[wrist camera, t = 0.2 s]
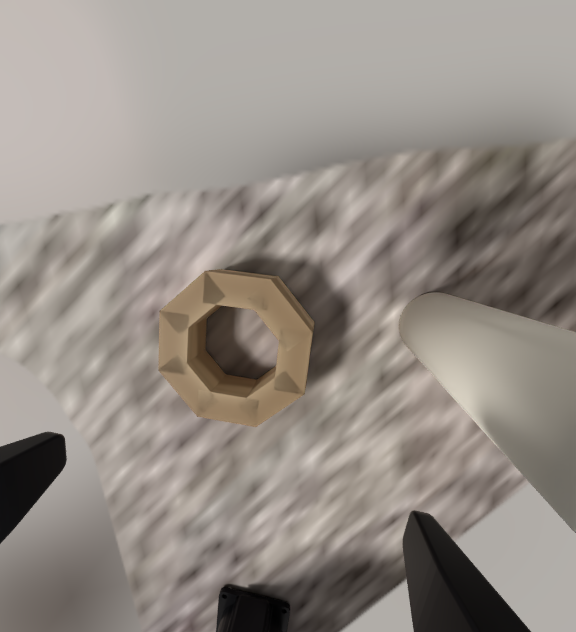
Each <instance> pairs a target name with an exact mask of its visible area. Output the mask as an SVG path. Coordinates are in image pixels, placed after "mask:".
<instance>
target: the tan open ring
mask: <svg viewBox="0 0 576 632" xmlns="http://www.w3.org/2000/svg"><path fill="white" fill-rule="evenodd" d="M221 306H230V307H237V308H244V309H252V310H255V311H256V313H257V314H258V315H259V316H260V318H261V319H262V320H263V321H264V323H265V324H266V325H267V326H268V328H269V329H270V330H271V331H272V333H273V334H274V335H275V336H276V338H277V339H278V340H279V346H278V355H277V364H276V366H275V367H274V368H272V369H271V370H270V371H268V372H267V373H265V374H264V375H263V376H261V377H260V378H259V379H257V380H256V379H250V378H244V377H238V376H232V375H226V374H225V373H224V372H223V371H222V369H221V368H220V367H219V366H218V365H217V363H216V362H215V361H214V360H213V359H212V357H211V356H210V355H209V354H208V352H207V351H206V350H205V344H206V326H207V318H208V317H209V316H210V315H212V314H213V313H214V312H215V311H216V310H218V309H219V308H220V307H221ZM314 324H315V322H314V321H313V320H312V319H311V317H310V316H309V315H308V313H307V312H306V311H305V310H304V308H303V307H302V306H301V304H300V303H299V302H298V301H297V299H296V298H295V297H294V295H293V294H292V293H291V292H290V290H289V289H288V288H287V287H286V285H285V284H284V283H283V281H282V280H281V279H280V278H279V276H272V275H263V274H255V273H247V272H239V271H231V270H223V269H219V270H209V271H205V272H204V273H202V274H201V275H200V276H199V277H198V278H197V279H196V280H194V281H193V282H192V283H191V284H190V285H189V286H188V287H186V288H185V289H184V290H183V291H182V292H181V293H180V294H178V295H177V296H176V297H175V298H174V299H173V300H172V301H171V302H169V303H168V304H167V305H166V306H165V307H164V308H163V309H161V310H160V320H159V372H160V373H161V374H162V375H163V376H164V377H165V379H166V380H167V381H168V382H169V383H170V385H171V386H172V387H173V388H174V389H175V390H176V392H177V393H178V394H179V395H180V396H181V398H182V399H183V400H184V401H185V402H186V403H187V405H188V406H189V407H190V408H191V409H192V411H193V412H194V413H195V414H196V415H197V416H198V417H203V418H209V419H214V420H220V421H225V422H231V423H236V424H242V425H247V426H253V427H257V426H258V425H260V424H261V423H263V422H264V421H266V420H267V419H268V418H270V417H271V416H273V415H274V414H276V413H277V412H279V411H280V410H282V409H283V408H285V407H286V406H288V405H289V404H291V403H292V402H294V401H295V400H297V399H298V398H300V397H301V396H303V395H304V394H305V388H306V382H307V374H308V367H309V359H310V352H311V344H312V337H313V330H314Z"/></svg>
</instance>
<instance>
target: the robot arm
mask: <svg viewBox="0 0 576 632" xmlns="http://www.w3.org/2000/svg"><path fill="white" fill-rule="evenodd" d="M66 460H67V459H66V446H65V438H64V436H63V435H62V434H58V433H53V432H44V433H41V434H38V435H35V436H32V437H29V438H26V439H23V440H20V441H16V442H14V443H10V444H7V445H4V446H1V447H0V544H1V542H2V541H3V540H4V539H5V538H6V537H7V536H8V535H9V534H10V533H11V531H12V530H13V529H14V528H15V527H16V526H17V525H18V523H19V522H20V521H21V520H22V519H23V517H24V516H25V515H26V514H27V513H28V511H29V510H30V509H31V508H32V507H33V505H34V504H35V503H36V502H37V500H38V499H39V498H40V497H41V496H42V494H43V493H44V492H45V491H46V489H47V488H48V487H49V486H50V485H51V484H52V482H53V481H54V480H55V479H56V477H57V476H58V475H59V474H60V473H61V471H62V470H63V468H64V466H65V464H66ZM403 553H404V561H405V568H406V576H407V584H408V591H409V599H410V607H411V614H412V622H413V628H414V632H531V631H530V630H529V629H528V628H527V626H526V625H525V624H524V623H523V622H522V621H521V620H520V618H519V617H518V616H517V615H516V613H515V612H514V611H513V610H512V609H511V608H510V606H509V605H508V604H507V603H506V602H505V601H504V599H503V598H502V597H501V596H500V595H499V594H498V592H497V591H496V590H495V589H494V588H493V587H492V585H491V584H490V583H489V582H488V581H487V580H486V578H485V577H484V576H483V575H482V574H481V572H480V571H479V570H478V569H477V568H476V567H475V566H474V565H473V563H472V562H471V561H470V560H469V558H468V557H467V556H466V555H465V554H464V553H463V551H462V550H461V549H460V548H459V547H458V546H457V544H456V543H455V542H454V541H453V540H452V539H451V537H450V536H449V535H448V534H447V533H446V531H445V530H444V529H443V528H442V527H441V526H440V524H439V523H438V522H437V521H436V520H435V519H434V517H433V516H431V515H430V514H428V513H424V512H420V511H412V512H411V513H410V515H409V518H408V522H407V525H406V529H405V532H404V536H403ZM289 613H290V605H289V604H288V603H287V602H284V601H280V600H276V599H272V598H268V597H264V596H260V595H255V594H251V593H247V592H243V591H239V590H235V589H231V588H227V587H223V588H222V589H221V591H220V594H219V603H218V615H217V628H216V632H287V627H288V620H289Z"/></svg>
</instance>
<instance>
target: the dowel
mask: <svg viewBox="0 0 576 632" xmlns="http://www.w3.org/2000/svg"><path fill="white" fill-rule="evenodd" d="M399 333H400V336H401V339H402V341H403V342H404V344H405V345H406V346H407V347H408V348H409V349H410V351H411V352H412V353H413V354H414V355H415V356H416V357H417V358H418V359H419V361H420V362H421V363H422V364H423V365H424V366H425V367H426V368H427V369H428V371H429V372H430V373H431V374H432V375H433V376H434V377H435V378H436V379H437V381H438V382H439V383H440V384H441V385H442V386H443V387H444V388H445V389H446V390H447V392H448V393H449V394H450V395H451V396H452V397H453V398H454V399H455V400H456V402H457V403H458V404H459V405H460V406H461V407H462V408H463V409H464V410H465V412H466V413H467V414H468V415H469V416H470V417H471V418H472V419H473V420H474V421H475V423H476V424H477V425H478V426H479V427H480V428H481V429H482V430H483V431H484V433H485V434H486V435H487V436H488V437H489V438H490V439H491V440H492V441H493V443H494V444H495V445H496V446H497V447H498V448H499V449H500V450H501V451H502V452H503V454H504V455H505V456H506V457H507V458H508V459H509V460H510V461H511V462H512V464H513V465H514V466H515V467H516V468H517V469H518V470H519V471H520V472H521V474H522V475H523V476H524V477H525V478H526V479H527V480H528V481H529V482H530V483H531V485H532V486H533V487H534V488H535V489H536V490H537V491H538V492H539V493H540V494H541V496H542V497H543V498H544V499H545V500H546V501H547V502H548V503H549V504H550V505H551V507H552V508H553V509H554V510H555V511H556V512H557V513H558V515H559V516H560V517H561V518H562V519H563V520H564V521H565V522H566V523H567V524H568V525H569V527H570V528H571V529H572V530H573V531H574V532H575V533H576V332H573V331H570V330H566V329H563V328H560V327H556V326H553V325H550V324H546V323H543V322H540V321H536V320H533V319H530V318H526V317H523V316H519V315H516V314H513V313H509V312H506V311H503V310H499V309H496V308H493V307H489V306H486V305H483V304H479V303H476V302H472V301H469V300H466V299H462V298H459V297H456V296H452V295H449V294H446V293H440V292H432V293H426V294H423V295H421V296H419V297H417V298H415V299H414V300H412V301H411V302H410V303H409V304H408V305H407V306H406V307H405V309H404V310H403V312H402V314H401V317H400V320H399Z"/></svg>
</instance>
